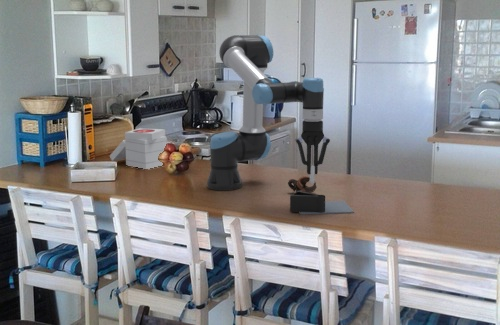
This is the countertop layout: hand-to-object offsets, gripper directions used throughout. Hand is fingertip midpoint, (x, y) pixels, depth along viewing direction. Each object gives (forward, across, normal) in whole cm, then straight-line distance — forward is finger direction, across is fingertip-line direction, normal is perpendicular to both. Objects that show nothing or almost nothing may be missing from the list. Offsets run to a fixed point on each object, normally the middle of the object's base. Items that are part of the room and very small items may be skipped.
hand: (312, 182), depth 234 cm
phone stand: (+7, -7, -1) cm, 10 cm away
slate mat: (+10, +4, 0) cm, 11 cm away
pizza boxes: (+10, -74, +93) cm, 119 cm away
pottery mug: (+10, 0, +23) cm, 25 cm away
